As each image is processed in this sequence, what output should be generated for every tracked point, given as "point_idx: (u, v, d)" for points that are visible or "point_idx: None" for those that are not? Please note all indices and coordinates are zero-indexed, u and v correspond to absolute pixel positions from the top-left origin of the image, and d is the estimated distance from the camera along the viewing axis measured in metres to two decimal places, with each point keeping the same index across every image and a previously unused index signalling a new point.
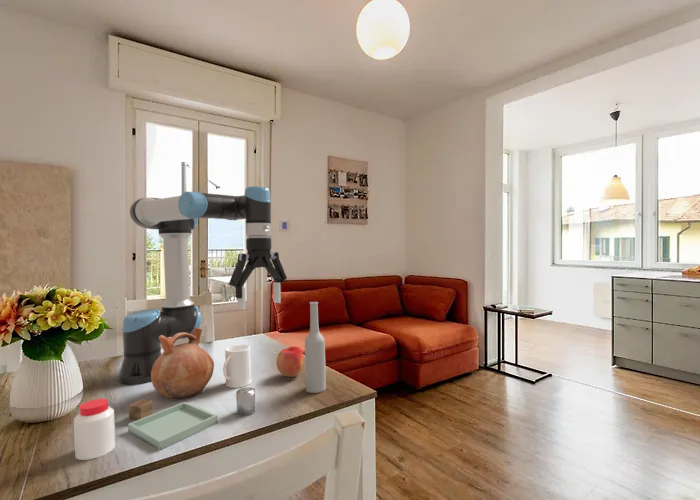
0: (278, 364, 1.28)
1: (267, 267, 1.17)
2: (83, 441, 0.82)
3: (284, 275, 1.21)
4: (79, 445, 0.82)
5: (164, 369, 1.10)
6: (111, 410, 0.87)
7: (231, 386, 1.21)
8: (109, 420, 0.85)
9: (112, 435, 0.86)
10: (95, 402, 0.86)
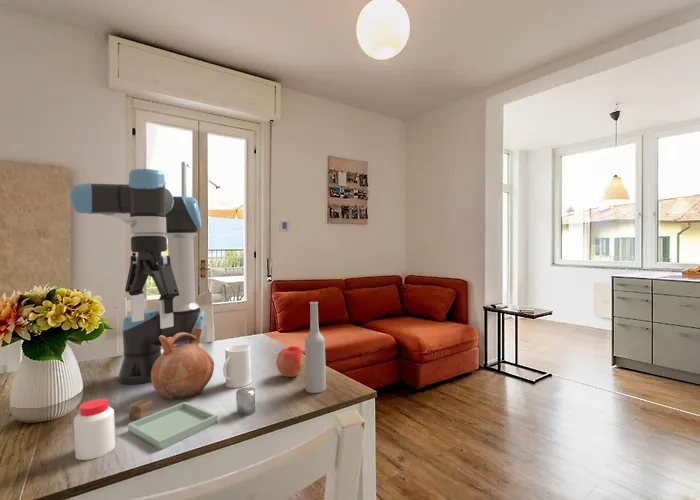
0: (278, 364, 1.28)
1: None
2: (83, 441, 0.82)
3: (166, 290, 0.82)
4: (79, 445, 0.82)
5: (164, 369, 1.10)
6: (111, 410, 0.87)
7: (231, 386, 1.21)
8: (109, 420, 0.85)
9: (112, 435, 0.86)
10: (95, 402, 0.86)
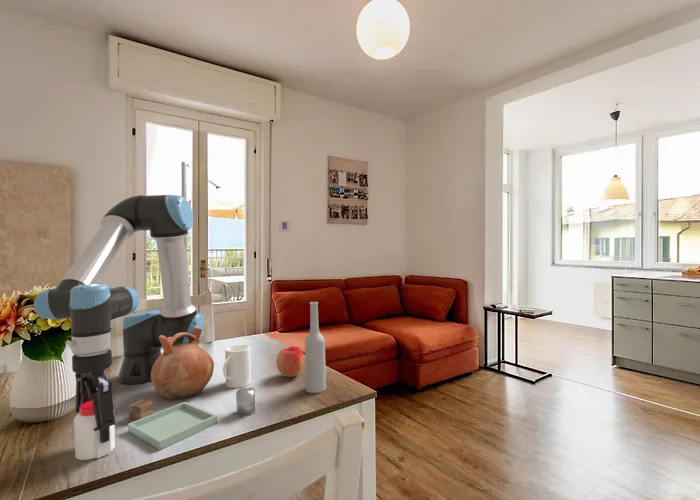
0: (278, 364, 1.28)
1: None
2: (83, 441, 0.82)
3: (101, 422, 0.81)
4: (79, 445, 0.82)
5: (164, 369, 1.10)
6: None
7: (231, 386, 1.21)
8: None
9: (112, 435, 0.86)
10: None
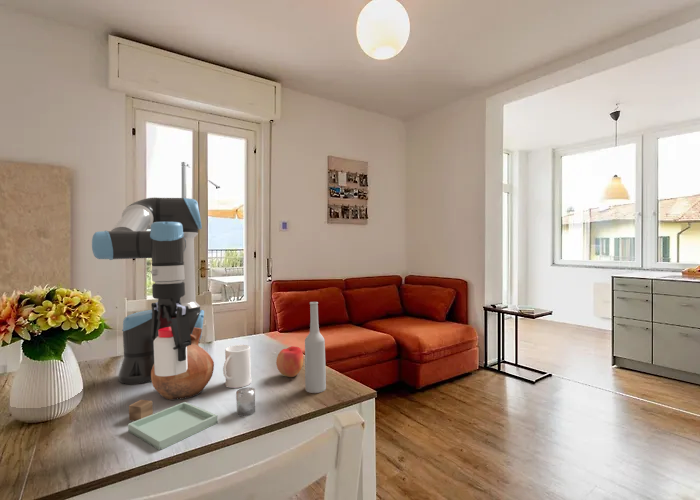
0: (278, 364, 1.28)
1: None
2: (163, 359, 0.92)
3: (180, 341, 0.91)
4: (160, 363, 0.92)
5: None
6: None
7: (231, 386, 1.21)
8: None
9: (186, 357, 0.96)
10: (170, 328, 0.96)
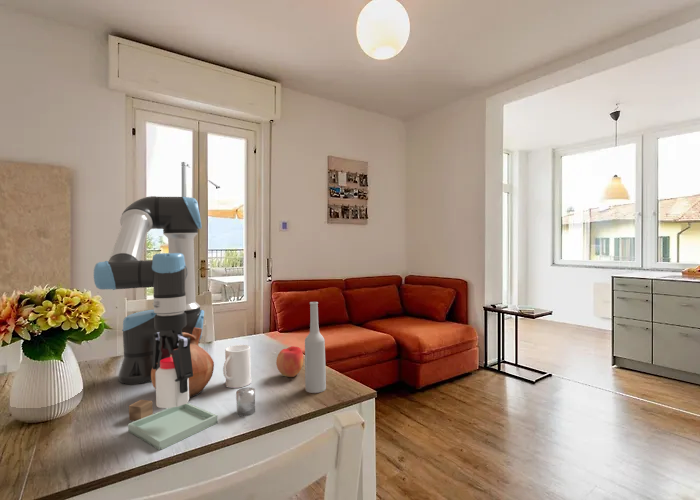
0: (278, 364, 1.28)
1: None
2: (165, 391, 0.92)
3: (182, 373, 0.91)
4: (162, 395, 0.92)
5: None
6: None
7: (231, 386, 1.21)
8: None
9: None
10: (172, 358, 0.96)
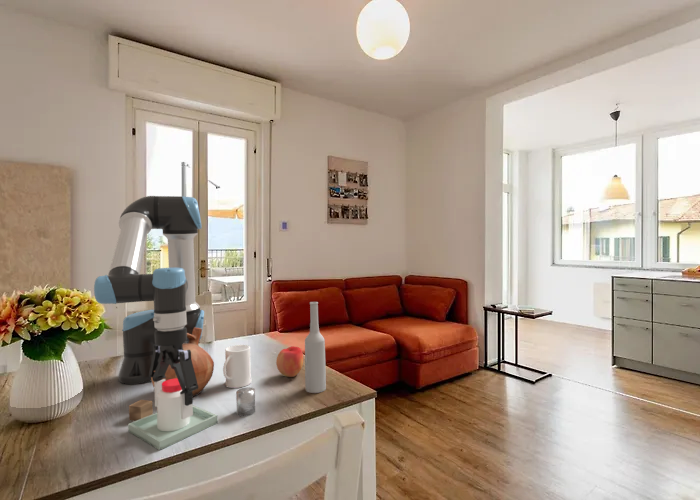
0: (278, 364, 1.28)
1: None
2: (167, 414, 0.93)
3: (187, 386, 0.90)
4: (163, 418, 0.93)
5: None
6: None
7: (231, 386, 1.21)
8: None
9: None
10: (174, 381, 0.97)
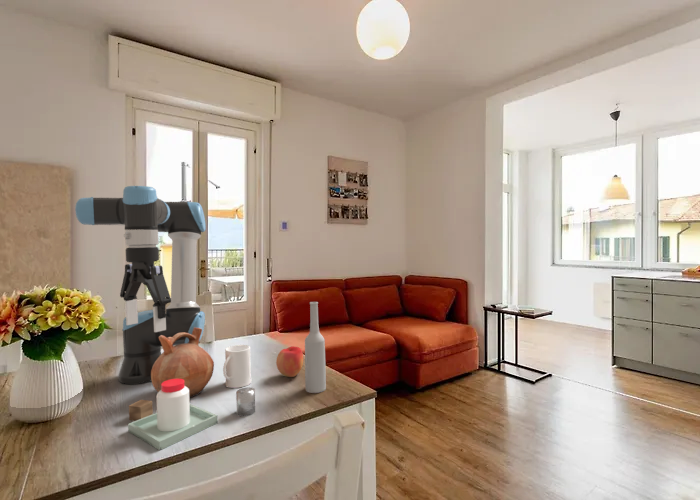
0: (278, 364, 1.28)
1: None
2: (167, 415, 0.93)
3: (159, 298, 0.91)
4: (163, 418, 0.93)
5: (164, 369, 1.10)
6: (187, 388, 0.98)
7: (231, 386, 1.21)
8: (187, 397, 0.96)
9: (188, 410, 0.97)
10: (173, 381, 0.97)
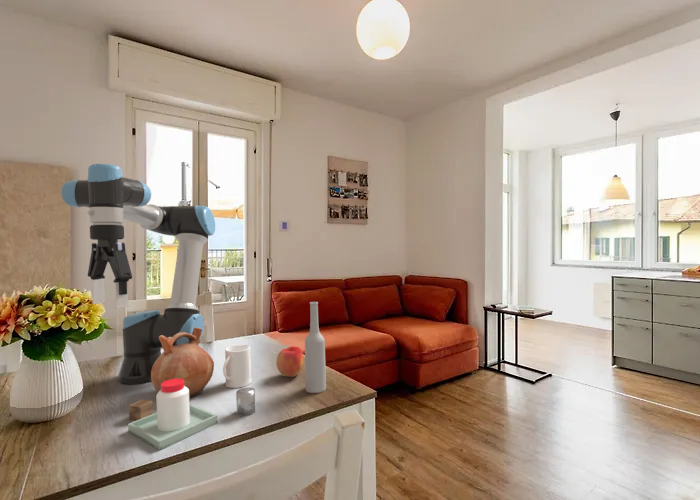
0: (278, 364, 1.28)
1: None
2: (167, 415, 0.93)
3: (119, 274, 0.91)
4: (163, 419, 0.93)
5: (164, 369, 1.10)
6: (187, 388, 0.98)
7: (231, 386, 1.21)
8: (187, 397, 0.96)
9: (188, 410, 0.97)
10: (173, 381, 0.97)
